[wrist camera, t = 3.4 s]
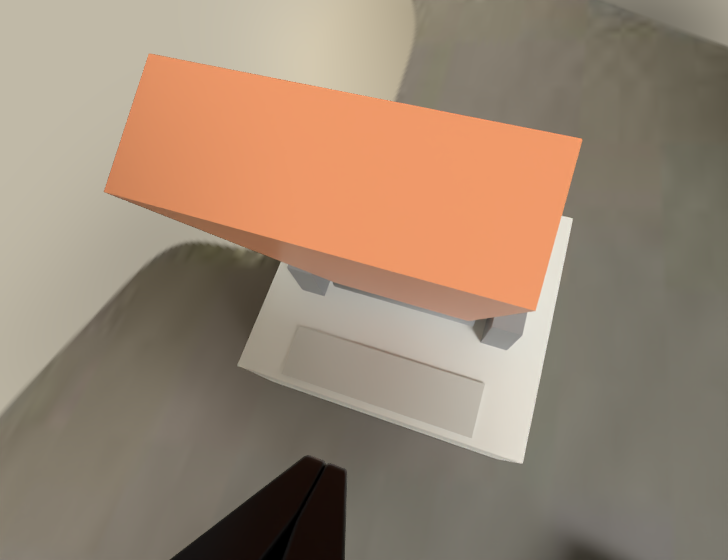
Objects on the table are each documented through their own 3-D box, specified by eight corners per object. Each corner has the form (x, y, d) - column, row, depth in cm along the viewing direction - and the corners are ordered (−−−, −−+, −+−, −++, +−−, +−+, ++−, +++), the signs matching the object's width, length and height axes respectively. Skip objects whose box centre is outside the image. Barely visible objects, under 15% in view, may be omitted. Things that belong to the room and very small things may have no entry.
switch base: (496, 458, 16) (542, 467, 11) (273, 381, 18) (210, 353, 12) (539, 263, 18) (596, 186, 13) (339, 212, 20) (312, 124, 15)
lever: (470, 326, 14) (559, 331, 3) (340, 288, 15) (83, 197, 4) (484, 277, 14) (613, 131, 3) (353, 242, 15) (134, 40, 4)
